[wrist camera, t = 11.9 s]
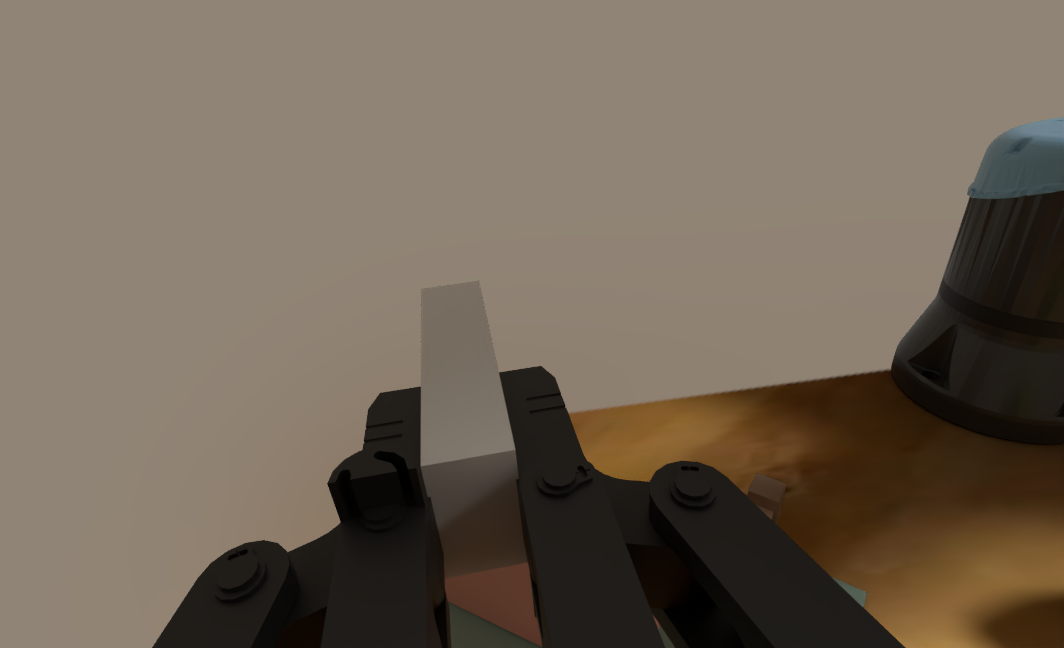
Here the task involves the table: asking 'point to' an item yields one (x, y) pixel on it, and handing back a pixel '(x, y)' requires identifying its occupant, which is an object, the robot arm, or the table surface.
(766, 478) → the fence wall
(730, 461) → the table surface
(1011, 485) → the table surface
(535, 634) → the gate panel
